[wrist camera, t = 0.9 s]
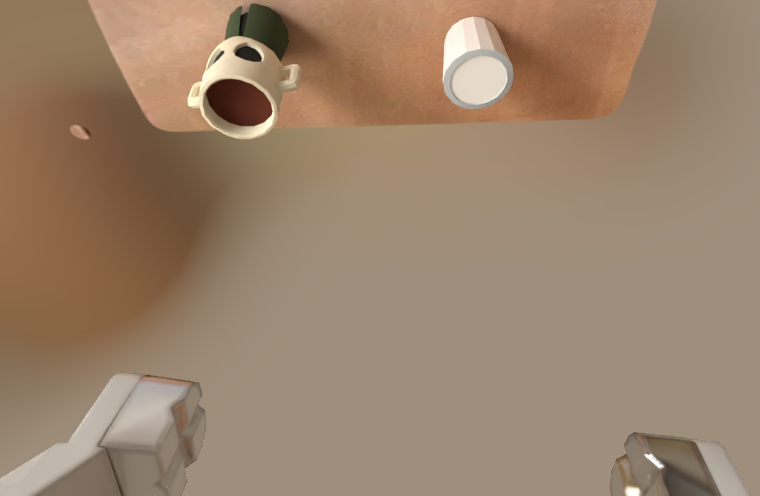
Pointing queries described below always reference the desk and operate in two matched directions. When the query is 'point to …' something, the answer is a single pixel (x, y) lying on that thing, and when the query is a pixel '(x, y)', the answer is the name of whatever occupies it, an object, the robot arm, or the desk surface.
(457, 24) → the white tapered cup
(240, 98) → the character mug
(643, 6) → the desk surface
